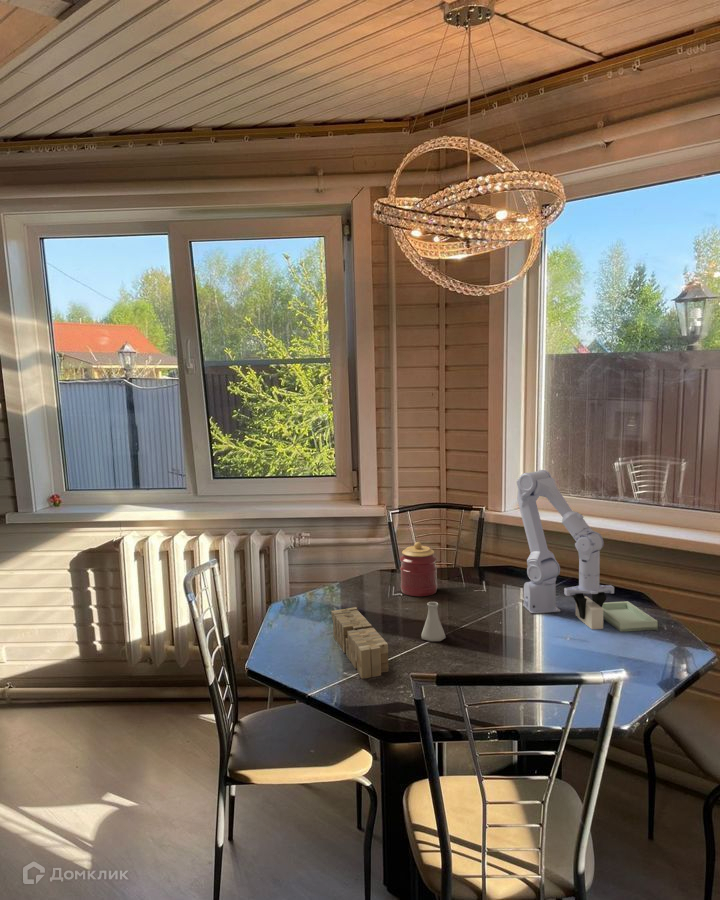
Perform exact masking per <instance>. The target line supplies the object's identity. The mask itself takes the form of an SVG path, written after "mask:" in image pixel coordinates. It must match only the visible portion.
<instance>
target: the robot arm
mask: <svg viewBox="0 0 720 900" xmlns="http://www.w3.org/2000/svg"><path fill="white" fill-rule="evenodd" d="M516 485H517V486H516V487H517V503H518V507H519V511H520V512H519V513H520V515H521V520H522V525H523V528H524V531H525V535H526V540H527V544H528V548H529V552H530V554H529V556H528V557H527V558H526V564H527V568H526V575H527V577H528V578H529V580H530V581H526V582H525V583H524V584H523V604H522V607H524V608H525V609H526V610H527V611H528V612H529V613H531V614H545V613H547V614H548V613H560V612H561V609H560V608H558V606H556V581H557V577H558V576H559V575H560V572H561V566H560V563H559V562H558V561H557V560H556V557H555V554H554V553H553V552H552V551H550V550H549V548H548V544H547V540H546V536H545V532H544V528H543V525H542V520H541V517H540V513H539V508H538V505H537V504H538V503H537V500H538V499H539V497H543V498H545V499H547V500H548V501H549V503H550V504H551V505H552V506H553V508H554V509H555V510H556V511H557V512H558V514H560V516H561V517H562V520H561V522H562V525H563V526H564V527H565V529H566V530H567V531H568V533H569V534H570V535H571V537H572V538H573V540H574V541H575V542H574V547H575V549H576V550H577V552H578V553H577V554H578V561H579V563H578V585H576V586H570V587H564V589H563V591H564V592H563V593H564V594H563V595H565V596H566V597H571V596H572V597H573V599H574V601H575V605H576V604H577V607H578V610H579V614H580V617H581V618H582V619H585V606H586V601H587V599H586V598H585V597H584V596H585V595H591V598H592V599H591V600H592V601H594V602H595V603H596V604H598V605H599V606H600V607H602V605H603V603H606V600H607V595H606V594H611V595H612V594H615V586H613V585H610V584H609V585H604V584H600V566H601V565H600V561H601V558H600V556H601V554H600V552H601V550H602V548H604V543H605V542H604V538H603V537H602V535H601V533H599V532H598V531H595V530H593V529H592V527H590V526H589V524H588V523H587V521H586V520H585V519H584V516H583V514H581V513H580V512H578V511H575V510H572V508H571V506H570V505H569V503H568V502H567V501H566V499H565V498H564V496H563V494H562V493H561V491H560V490H559V489H558V487H557V485H556V479H555V478H553V477H552V475H551V474H550V472H549V471H547V470H545V469H540V470H535V471H531V472H524V473H522V474H521V475H520V476H519V477H518V479H517V480H516Z"/></svg>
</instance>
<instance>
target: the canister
mask: <svg viewBox="0 0 720 900" xmlns="http://www.w3.org/2000/svg"><path fill="white" fill-rule="evenodd" d="M401 554H402V555H401V556H400V557H399V560H400V562H401V564H400V565H401V566H400V567H399V570H400V590H401V593H402V594H404V595H406V596H411V597H428V596H433V595H434V594H436V593H437V592H438V591H437V590H438V577H437V575H438V574H437V573H438V572H437V570H438V566H437V565H436V561H437V556H435V555H434V554H435V550H433V549H432V548H431V547H429V546H428V545H427V546H426V545H422V543H421V542H420V541H416V542H415V543H414V545H411V546H408V547H406V548H405V549H404V550H402V551H401Z"/></svg>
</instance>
